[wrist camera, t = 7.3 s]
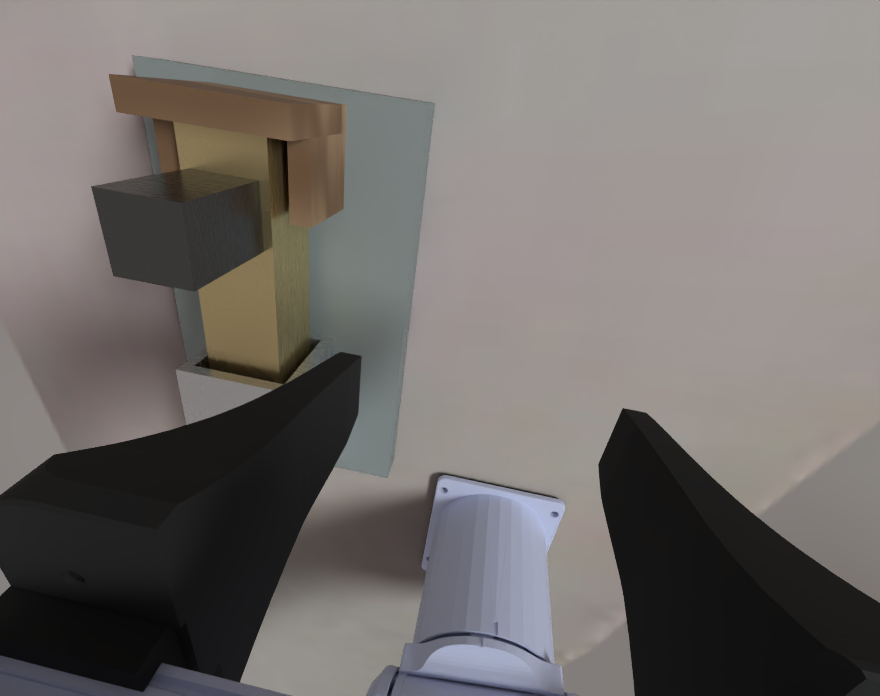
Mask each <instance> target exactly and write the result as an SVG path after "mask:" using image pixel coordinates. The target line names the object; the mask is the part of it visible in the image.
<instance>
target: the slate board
mask: <svg viewBox="0 0 880 696" xmlns="http://www.w3.org/2000/svg"><path fill="white" fill-rule="evenodd" d="M132 58H133V63H134V69H135V75H136V76H138V77H150V78H163V79H175V80H187V81H199V82H211V83H217V84H223V85H229V86H235V87H241V88H247V89H254V90H260V91H266V92H272V93H278V94H284V95H290V96H296V97H302V98H309V99H315V100H321V101H327V102H333V103H339V104H345V105H346V135H345V172H344V208H343V210H341V211H339V212H338V213H336V214H334V215H333V216H331V217H329V218H327V219H326V220H324V221H322V222H321V223H319V224H317V225H316V226H314V227H312V228H309V298H310V333H313V334H318V335H323V336H328V337H333V338H334V355H335V354H337V353H339V352H345V353H350V354H355V355H360V356H362V359H361V377H360V394H359V412H358V416H357V419H356V422H355V424H354V427H353V429H352V432H351V434H350V437H349V439H348V442H347V444H346V446H345V448H344V450H343V451H342V453H341V455H340V457H339V459H338V461H337V462H336V464H335V466H334V467H339V468H344V469H348V470H353V471H357V472H362V473H367V474H371V475H376V476H380V477H385V478H388V475H389V472H390V469H391V466H392V463H393V459H394V451H395V442H396V434H397V425H398V416H399V408H400V399H401V390H402V382H403V373H404V364H405V356H406V347H407V338H408V330H409V321H410V312H411V304H412V295H413V286H414V278H415V269H416V260H417V252H418V243H419V234H420V226H421V217H422V208H423V200H424V191H425V183H426V174H427V165H428V157H429V148H430V139H431V131H432V122H433V113H434V105H435V103H429V102H423V101H417V100H411V99H404V98H398V97H392V96H386V95H380V94H373V93H367V92H361V91H355V90H349V89H342V88H336V87H330V86H324V85H318V84H311V83H305V82H299V81H293V80H287V79H280V78H274V77H268V76H262V75H256V74H249V73H243V72H237V71H231V70H225V69H218V68H212V67H206V66H200V65H194V64H187V63H181V62H175V61H169V60H163V59H156V58H149V57H141V56H134V55H132ZM143 119H144V125H145V131H146V136H147V142H148V148H149V153H150V159H151V164H152V170H153V175H156V174H161V173H162V172H161V166H160V160H159V154H158V148H157V142H156V136H155V130H154V124H153V118H150V117H144V116H143ZM174 294H175V299H176V305H177V310H178V316H179V322H180V327H181V333H182V339H183V344H184V350H185V355H186V361H187V360H189V359H190V358H191V357H192V356H194V355H195V354H196V353H198V352H199V351H200V350H202V349H203V348H204V347H205V346H206V339H205V332H204V326H203V319H202V312H201V305H200V299H199V292H198V290H197V291H195V292H193V291H188V290H183V289H178V288H174Z"/></svg>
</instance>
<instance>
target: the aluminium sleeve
mask: <svg viewBox="0 0 880 696" xmlns="http://www.w3.org/2000/svg"><path fill="white" fill-rule="evenodd" d="M332 356H334V338H333V337H328V336H323V335H318V334H313V333H310V354H309V355H308V357H307V358H306V359H305V360H304V361H303V363H302V364H301V365H300V366H299V367H298V369H297V370H296V371H295V372H294V373H293V375H292V376H291V377H290V378H289V379H288V381H287V382H286V383H288V382H290V381H291V380H293V379H295V378H296V377H298V376H300V375H302V374H303V373H305V372H307V371H309V370H310V369H312V368H314V367H315V366H317V365H319V364H320V363H322V362H324V361H325V360H327V359H329V358H330V357H332ZM176 375H177V380H178V385H179V390H180V395H181V401H182V406H183V411H184V416H185V421H186V425H188V424H191V423H194V422H197V421H200V420H203V419H206V418H209V417H212V416H215V415H218V414H221V413H223V412H226V411H228V410H231V409H233V408H236V407H238V406H241V405H243V404H245V403H247V402H250V401H252V400H254V399H256V398H258V397H260V396H262V395H264V394H266V393H268V392H270V391H272V390H274V389H276V388H278V387H280V386H282V385H284V384H280V383H275V382H270V381H265V380H261V379H256V378H251V377H246V376H241V375H236V374H232V373H227V372H222V371H217V370H212V369H210V366H209V359H208V353H207V346H205V347H204V348H203V349H202V350H200V351H199V352H198V353H196V354H195V355H194V356H192V357H191V358H190V359H189V360H187V361H186V362H185V363H183V364H182V365H181V366H179V367H178V368H177V369H176ZM286 383H285V384H286Z"/></svg>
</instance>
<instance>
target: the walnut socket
mask: <svg viewBox="0 0 880 696" xmlns="http://www.w3.org/2000/svg"><path fill="white" fill-rule="evenodd" d="M109 78H110V83H111V88H112V93H113V98H114V103H115V107H116V112H120V113H126V114H132V115H138V116H144V117H150V118H153V124H154V130H155V136H156V142H157V148H158V154H159V160H160V166H161V172H162V173H166V172H172V171H177V170H180V164H179V157H178V150H177V143H176V137H175V130H174V123H173V122H179V123H185V124H191V125H197V126H202V127H208V128H214V129H220V130H226V131H232V132H238V133H244V134H249V135H255V136H261V137H267V138H273V139H279V140H285V141H287V153H288V183H289V213H290V225H295V226H301V227H306V228H312V227H314V226H316V225H317V224H319V223H321V222H322V221H324V220H326V219H327V218H329V217H331V216H333V215H334V214H336V213H338V212H339V211H341V210H343V208H344V172H345V135H346V105H345V104H339V103H333V102H327V101H321V100H315V99H309V98H302V97H296V96H290V95H284V94H278V93H272V92H266V91H260V90H254V89H247V88H241V87H235V86H229V85H223V84H217V83H211V82H199V81H187V80H175V79H163V78H150V77H138V76H126V75H114V74H109Z"/></svg>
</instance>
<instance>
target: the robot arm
mask: <svg viewBox="0 0 880 696" xmlns="http://www.w3.org/2000/svg"><path fill="white" fill-rule="evenodd" d="M361 359H362V356H360V355H355V354H350V353H345V352H339V353H337V354H335V355H334V356H332V357H330V358H329V359H327V360H325V361H324V362H322V363H320V364H319V365H317V366H315V367H314V368H312V369H310V370H309V371H307V372H305V373H303V374H302V375H300V376H298V377H296V378H295V379H293V380H291V381H290V382H288V383H286V384H284V385H282V386H280V387H278V388H276V389H274V390H272V391H270V392H268V393H266V394H264V395H262V396H260V397H258V398H256V399H254V400H252V401H250V402H247V403H245V404H243V405H241V406H238V407H236V408H233V409H231V410H228V411H226V412H223V413H221V414H218V415H215V416H212V417H209V418H206V419H203V420H200V421H197V422H194V423H191V424H188V425H185V426H182V427H179V428H176V429H172V430H169V431H165V432H161V433H158V434H154V435H150V436H146V437H142V438H138V439H134V440H129V441H125V442H120V443H116V444H111V445H105V446H100V447H95V448H89V449H84V450H78V451H73V452H67V453H61V454H55V455H53V456H52V457H50V458H49V459H48V460H46V461H45V462H44V463H42V464H41V465H40V466H38V467H37V468H36V469H34V470H33V471H32V472H30V473H29V474H28V475H26V476H25V477H24V478H22V479H21V480H20V481H18V482H17V483H16V484H14V485H13V486H12V487H10V488H9V489H8V490H7V491H5V492H4V493H3V494H1V495H0V568H1V570H2V571H3V573H4V575H5V577H6V578H7V580H8V582H9V583H10V585H11V586H10V587H9V588H8V589H7V590H6V591H5V592H4V593H3V594H2V595H1V596H0V696H291V695H287V694H283V693H279V692H275V691H271V690H267V689H263V688H259V687H255V686H251V685H247V684H243V683H240V680H241V677H242V674H243V672H244V669H245V666H246V664H247V661H248V658H249V656H250V653H251V650H252V647H253V645H254V642H255V639H256V637H257V634H258V632H259V629H260V627H261V624H262V621H263V619H264V616H265V614H266V611H267V609H268V606H269V604H270V601H271V598H272V596H273V593H274V591H275V589H276V586H277V584H278V581H279V579H280V576H281V574H282V572H283V569H284V567H285V564H286V562H287V559H288V557H289V555H290V552H291V550H292V548H293V546H294V543H295V541H296V539H297V536H298V534H299V532H300V529H301V527H302V525H303V523H304V521H305V519H306V517H307V515H308V513H309V511H310V509H311V507H312V505H313V503H314V502H315V500H316V498H317V496H318V494H319V493H320V491H321V489H322V487H323V486H324V484H325V482H326V480H327V478H328V477H329V475H330V473H331V471H332V470H333V468H334V466H335V464H336V462H337V461H338V459H339V457H340V455H341V453H342V451H343V450H344V448H345V446H346V444H347V442H348V439H349V437H350V434H351V432H352V429H353V427H354V424H355V422H356V419H357V416H358V412H359V394H360V377H361ZM598 465H599V478H600V489H601V499H602V503H603V508H604V512H605V516H606V521H607V525H608V529H609V534H610V538H611V542H612V546H613V550H614V554H615V559H616V563H617V567H618V571H619V575H620V580H621V585H622V590H623V595H624V602H625V610H626V617H627V625H628V633H629V641H630V650H631V660H632V669H633V678H634V691H635V696H880V603H879V602H877V601H876V600H874V599H872V598H871V597H869V596H867V595H866V594H864V593H863V592H861V591H860V590H858V589H856V588H855V587H853V586H852V585H850V584H849V583H847V582H846V581H844V580H843V579H841V578H840V577H838V576H836V575H835V574H834V573H832V572H831V571H829V570H828V569H826V568H825V567H823V566H822V565H821V564H819V563H818V562H816V561H815V560H813V559H812V558H811V557H809V556H808V555H806V554H805V553H803V552H802V551H801V550H799V549H798V548H796V547H795V546H794V545H792V544H791V543H790V542H788V541H787V540H786V539H784V538H783V537H781V536H780V535H779V534H778V533H776V532H775V531H774V530H773V529H771V528H770V527H769V526H768V525H766V524H765V523H764V522H763V521H761V520H760V519H759V518H758V517H756V516H755V515H754V514H753V513H751V512H750V511H749V510H748V509H747V508H746V507H744V506H743V505H742V504H741V503H740V502H739V501H737V500H736V499H735V498H734V497H733V496H732V495H731V494H730V493H729V492H727V491H726V490H725V489H724V488H723V487H722V486H721V485H720V484H719V483H717V482H716V481H715V480H714V479H713V478H712V477H711V476H710V475H709V474H708V473H707V472H706V471H705V470H704V469H703V468H702V467H701V466H700V465H699V464H698V463H697V462H696V461H695V460H694V459H693V458H692V457H691V456H690V455H689V454H688V453H687V452H686V451H685V450H684V449H683V448H682V447H681V446H680V445H679V444H678V443H677V442H676V441H675V440H674V439H673V438H672V437H671V436H670V435H669V434H668V433H667V432H666V431H665V430H664V429H663V428H662V427H661V426H660V425H659V424H658V423H657V422H656V421H655V420H654V419H652V418H651V417H650V416H649V415H648V414H647V413H644V412H639V411H634V410H629V409H624V408H623V409H622V411H621V414H620V416H619V418H618V421H617V423H616V425H615V427H614V430H613V432H612V434H611V437H610V439H609V441H608V443H607V446H606V448H605V450H604V453H603V455H602V457H601V460H600V462H599V464H598ZM443 488H446V489H443ZM564 511H565V505H564V502H563V501H562V500H559V499H555V498H551V497H546V496H541V495H537V494H532V493H527V492H523V491H518V490H514V489H509V488H504V487H500V486H495V485H490V484H486V483H481V482H476V481H472V480H467V479H462V478H458V477H453V476H448V475H442V476H440V477H439V478H438V481H437V486H436V492H435V497H434V502H433V507H432V513H431V518H430V523H429V528H428V534H427V539H426V544H425V549H424V555H423V560H422V565H421V566H422V569H423V570H425V571H426V576H425V581H424V587H423V592H422V597H421V602H420V608H419V613H418V618H417V623H416V629H415V634H414V639H413V643H406V644H405V645H404V650H403V654H402V659H401V664H400V667H397V666H393V665H389V666H387V667H386V668H385V669H384V670H383V671H382V673H381V674H380V675H379V676H378V677H377V678H376V679H375V680H374V681H373V682H372V684H371V686H370V688H369V690H368V692H367V695H366V696H579V695H577V694H576V693H567V692H564V689H563V677H562V667H561V666H560V665H558V664H554V651H553V637H552V623H551V609H550V595H549V580H548V566H547V552H548V549H549V547H550V545H551V542H552V540H553V537H554V535H555V532H556V530H557V528H558V525H559V523H560V520H561V518H562V516H563V513H564Z"/></svg>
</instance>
